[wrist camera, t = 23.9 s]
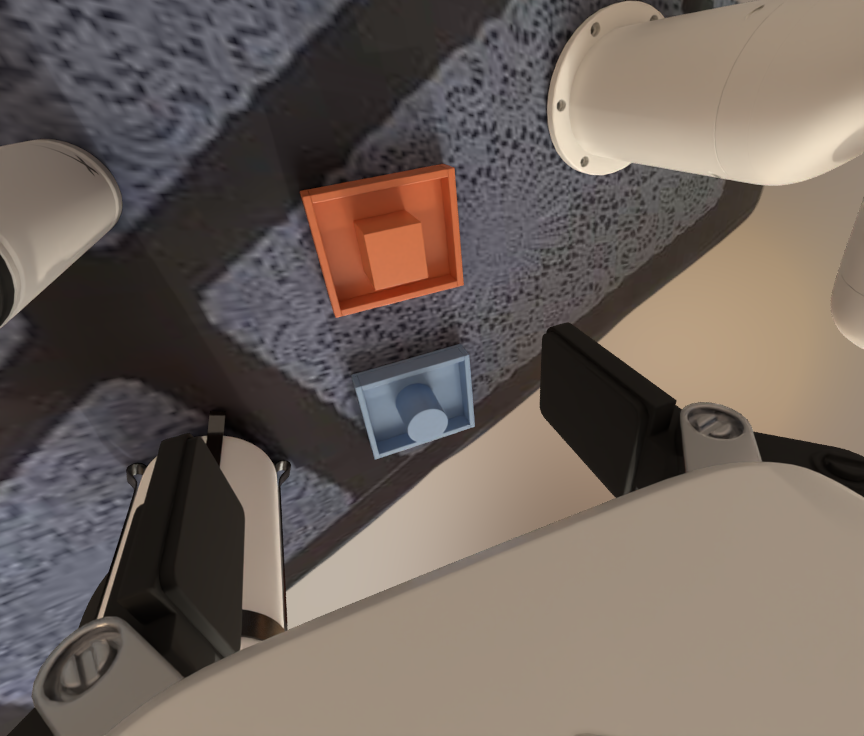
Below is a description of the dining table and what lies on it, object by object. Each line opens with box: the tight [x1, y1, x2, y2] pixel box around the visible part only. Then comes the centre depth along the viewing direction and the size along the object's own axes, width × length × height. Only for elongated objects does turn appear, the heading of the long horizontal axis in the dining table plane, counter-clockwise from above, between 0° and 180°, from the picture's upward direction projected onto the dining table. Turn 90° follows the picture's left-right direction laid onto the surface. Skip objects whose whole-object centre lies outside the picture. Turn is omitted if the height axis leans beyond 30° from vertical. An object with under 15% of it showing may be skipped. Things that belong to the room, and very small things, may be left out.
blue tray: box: [351, 344, 475, 459], centre depth 47 cm, size 12×10×2 cm
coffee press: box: [79, 411, 291, 650], centre depth 32 cm, size 17×16×30 cm
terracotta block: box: [353, 210, 428, 290], centre depth 35 cm, size 5×5×5 cm
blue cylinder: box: [396, 383, 448, 443], centre depth 46 cm, size 4×4×5 cm
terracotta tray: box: [300, 164, 464, 318], centre depth 37 cm, size 12×10×2 cm
